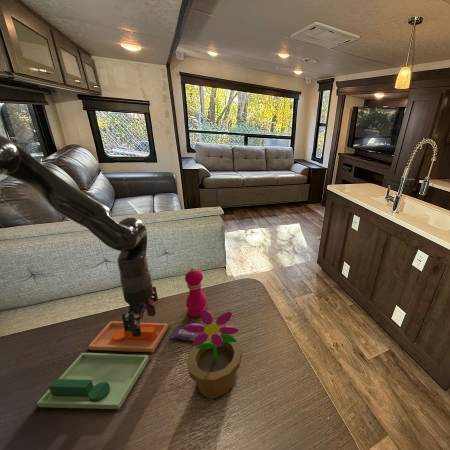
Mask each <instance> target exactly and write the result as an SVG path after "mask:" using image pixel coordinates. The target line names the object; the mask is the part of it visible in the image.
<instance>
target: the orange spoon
mask: <svg viewBox="0 0 450 450" xmlns="http://www.w3.org/2000/svg"><path fill="white" fill-rule="evenodd" d="M140 329H141V336H140V337H134V336H132V332H131V331H124V329H120V330H117V331H116V332H114V333H113V335H112V339H113V341H114V342H122V341H124V340H146V341H154V340H155V338H156V337H157V334H156V329H155V328H153V327H140Z"/></svg>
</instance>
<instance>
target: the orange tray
mask: <svg viewBox="0 0 450 450" xmlns="http://www.w3.org/2000/svg"><path fill="white" fill-rule="evenodd" d="M136 322H137V321H136ZM136 322H135V324H136ZM128 326H129V325H128ZM139 326H140V327H153V328H155V329H156V334H157V337H156V338H155V340H154V341H146V340H124V341H122V342H114V341H113V339H112V335H113V333H114V332H116V331H117V330H120V329H124V325H123V321H114V320H111V321H110V322H108V323H107V325H106V326H105V327H104V328H102V330H101V331H100V332H99V333H98V335H96V337H95V338H94V339H93V340H92V341H91V342H90V343H89V345H88V346H87V347H88V350H90V351H112V352H113V351H114V352H137V353H139V352H140V353H154V352H155V350H156V348H157V347H158V345H159V343H160V342H161V340H162V338H163V336H164V335H165V333H166V331H167V330H168V329H169V324H168V323H158V322H157V323H156V322H140V325H139Z"/></svg>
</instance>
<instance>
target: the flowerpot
mask: <svg viewBox="0 0 450 450" xmlns="http://www.w3.org/2000/svg"><path fill="white" fill-rule="evenodd" d="M232 316H233V312H232V311H230V310H229V311H226V312H222V313H221V314H220V315H219V316H218V317H217V318H216V320H215V321H216V322H213V321H214V316H213V315H212V312H211V311H210V310H207V308H206V309H204V310H201V316H199V317H200V320H201V322H202V323H203V324H204V325H203V324H202V323H197V322H196V323H194V322H191V323H188V324H186V325H184V326H183V327H184V330H186V331H188V332H190V333H199V332H202V331H204V332H205V333H201V334H199V335H198V336H197V337H196V338H194V341H192V348H191V350H190V353H189V354H188V357H187V359H186V363H187V364H186V365H187V370H188V374H189V378H190V379H192V380H193V381H194V382H196V385H197V388H198V392H199V393H200V394H201V395H202V396H204V397H205V398H209V399H217V398H219V397H221V396H223V395H226V394H227V393H228V392H229V391H230V390H231V388H232V387H233V386H234V383H235V382H234V381H235V378H236V372H237V371H238V370H239V368H240V366H241V362H242V358H243V350H242V348H241V345H240V343H239V341H238V340H237V339H236V338H235V337H233V336H232V335H234V334H237V333H239V330H240V329H239V328H238V327H236V326H235V325H229V324H227V323H228V322H229V321H230V320H231V318H232Z"/></svg>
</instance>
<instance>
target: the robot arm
mask: <svg viewBox="0 0 450 450" xmlns="http://www.w3.org/2000/svg"><path fill="white" fill-rule="evenodd" d="M1 175H4V176H8V177H9V178H12V179H15V180H16V181H19V182H21V183H23V184H25V185H27V186H28V187H30V188H32V189H33V190H34V191H35V192H37V194H38V195H40V196H41V197H42V199H43V200H44V201H45V202H46V203H47V204H48V206H50V207H51V208H52V209H53V210H54V211H56V213H58V214H60V215H61V216H63V217H64V218H66V219H69V220H70V221H72V222H74V223H76V224H78V225H79V226H81V227H84V228H86V229H87V230H88V231H89V232H90V233H91V234H92V235H94V236H95V237H96V238H97V239H98V240H99V241H100V242H102V243H103V244H104V245H105V246H107V247H108V248H110V249H112V250H115V251H118V252H120V253H119V254H118V256H117V262H116V263H117V267H118V273H119V277H120V278H119V281H120V286H121V291H122V295H123V300H124V302H125V303H126V304H128V306H129V308H128V312H127V313H124V312H123V313H122V315H121V319H122V322H123V325H124V331H131V332H132V336H134V337H140V336H141V329H140V326H139V325H140V323H141V322H142V320H143V318H144V314H145V312H146V314H147V316H148V317H155V316H156V314H157V313H156V308H155V307H156V302H158V300H159V297H158V296H159V295H158V291H157V287H156V286H153V280H152V275H151V271H150V268H149V262H148V261H149V260H148V258H147V252H148V251H147V250H148V231H147V230H148V229H147V228H146V225H145V224H144V222H143V221H142V220H140V219H139V218H137V217H126V218H123V219H122V220H120V221H119V222H117V221H116V220H114V219H113V217H111V215H112V210H111V209H110V207H108V206H107V205H106V204H104V203H102V202H100V201H99V200H96V199H95V198H93V197H92V196H90V195H88V194H87V193H84V192H83V191H81V190H80V189H78V188H76V187H75V186H73V185H72V184H70V183H69V182H67V181H66V180H64V179H63V178H61V177H60V176H59V175H57V174H56V173H54V171H52V170H50V168H48V167H46V166H45V165H44V164H42V162H40V161H38V160H37V159H36V158H35V157H33V156H32V155H31V154H29V153H28V151H26V150H24V149H23V148H22V147H20V146H19V145H18V144H16V143H15V142H13V141H12V140H10V138H9V139H8V137H5V136H3V135H1V134H0V176H1ZM135 315H138V316H135ZM135 321H136V324H135ZM128 325H129V326H128Z"/></svg>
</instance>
